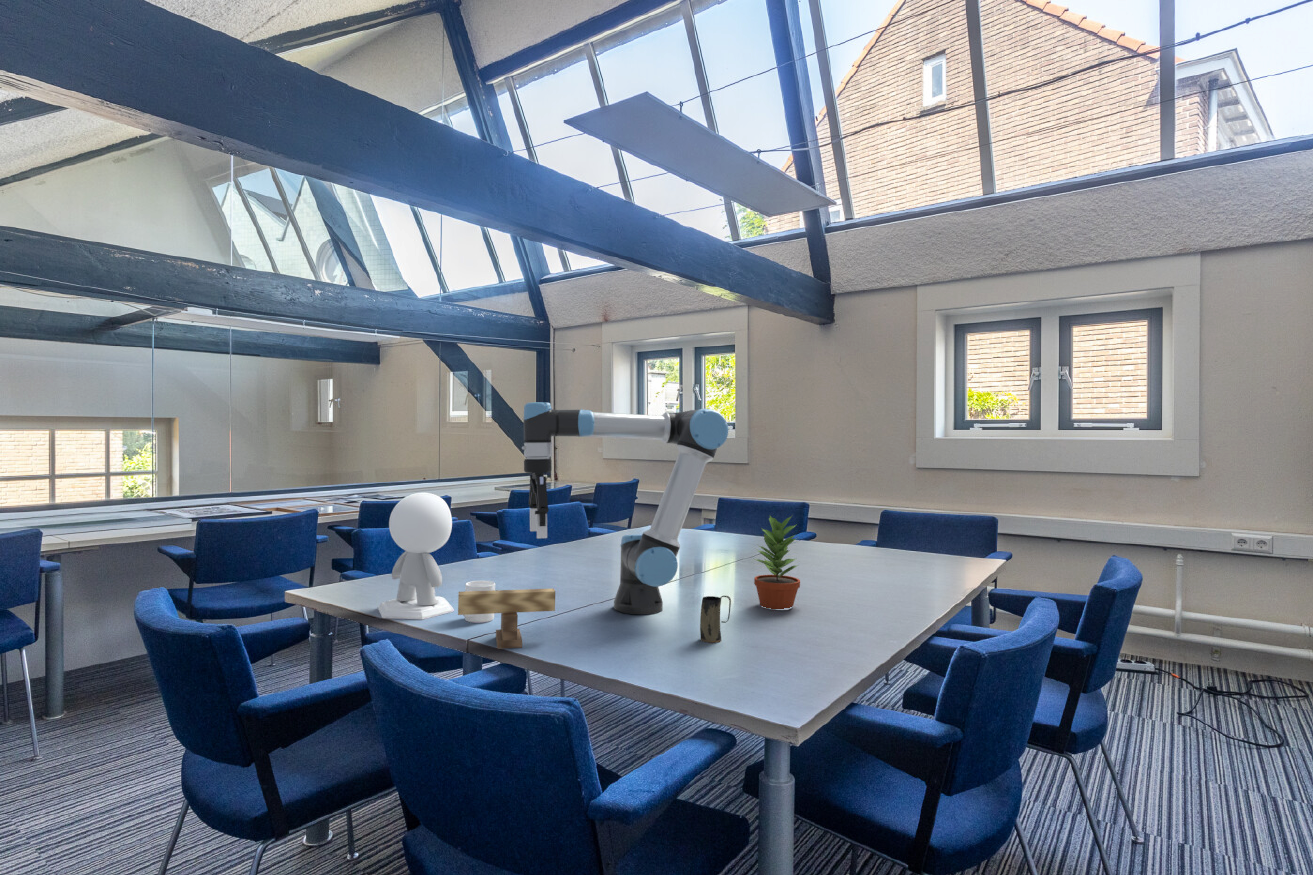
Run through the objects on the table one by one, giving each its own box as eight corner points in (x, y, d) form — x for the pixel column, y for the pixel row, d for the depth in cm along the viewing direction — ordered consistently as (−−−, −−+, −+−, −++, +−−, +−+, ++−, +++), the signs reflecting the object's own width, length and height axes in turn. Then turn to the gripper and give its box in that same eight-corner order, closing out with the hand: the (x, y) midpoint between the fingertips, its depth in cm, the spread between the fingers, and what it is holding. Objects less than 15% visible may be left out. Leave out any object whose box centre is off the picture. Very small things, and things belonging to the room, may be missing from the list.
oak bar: (553, 607, 181) (553, 588, 181) (554, 610, 178) (555, 591, 178) (458, 611, 175) (458, 591, 175) (457, 614, 172) (458, 594, 172)
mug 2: (697, 641, 182) (698, 595, 182) (702, 635, 187) (703, 591, 187) (726, 645, 179) (728, 598, 179) (731, 639, 184) (732, 594, 184)
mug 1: (473, 628, 189) (474, 590, 189) (449, 624, 192) (450, 587, 192) (500, 618, 200) (501, 582, 200) (476, 614, 203) (477, 579, 203)
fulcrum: (519, 636, 182) (519, 605, 182) (521, 647, 173) (522, 615, 173) (495, 637, 181) (496, 606, 181) (497, 648, 171) (498, 616, 171)
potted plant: (751, 600, 230) (753, 509, 230) (797, 602, 228) (800, 511, 227) (751, 611, 215) (753, 514, 215) (801, 614, 213) (803, 516, 213)
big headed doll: (468, 607, 210) (471, 492, 210) (404, 624, 191) (408, 497, 191) (425, 598, 221) (427, 488, 221) (360, 612, 201) (363, 492, 201)
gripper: (518, 456, 202) (519, 529, 203) (530, 460, 179) (530, 542, 179) (544, 456, 205) (544, 527, 205) (559, 459, 181) (559, 540, 181)
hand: (538, 534), depth 192 cm, fingers open, 13 cm apart
